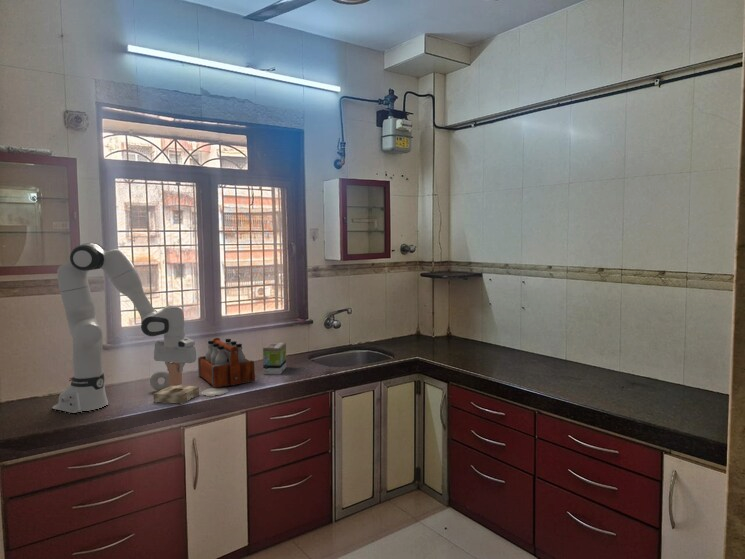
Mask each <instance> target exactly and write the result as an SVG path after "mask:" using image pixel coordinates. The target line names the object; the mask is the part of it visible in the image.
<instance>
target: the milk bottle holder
mask: <svg viewBox="0 0 745 559" xmlns="http://www.w3.org/2000/svg"><path fill="white" fill-rule="evenodd" d="M224 340H225V342H223V341H222V340H221V339H220V338H219V337H214V338H213V340H208V341H207V347H208V348H207V350H206V352H205V355H201V356H200V355H199V356H198V357H197V366H198V368H197V369H198V370H197V371H198V376H199V377H200V376H201V378H203V379H204V380H205V381H207V382H208V383H209V384H210V385H212V388H222V387H227V386H235V385H241V384H246V383H252V382H255V380H256V373H255V361H254V360H249V359H247V358H246V356H245V354H244V351H243V344H242V343H238V342H237V341H235V340H234V341H231V340H232V338H225V339H224Z"/></svg>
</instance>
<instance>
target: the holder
mask: <svg viewBox="0 0 745 559" xmlns="http://www.w3.org/2000/svg"><path fill="white" fill-rule="evenodd" d="M197 395H198V396H200V386H196V385H195V386H193V385H183V384H180V385H178V386H169V387H167V388H165V389H163V390H160V391H155V392H154V393H153V395H152V396H153V403H157V402H166V403H165V404H169V403H180V404H179V405H182V404H181V403H183V404H184V402H185V403H187V402H188V400H189V401H191V400H192V399H191V398H193V397H195V396H196V397H198V396H197ZM196 397H195V398H196ZM190 399H191V400H190ZM193 399H194V398H193ZM186 401H187V402H186Z"/></svg>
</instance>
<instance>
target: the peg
mask: <svg viewBox="0 0 745 559" xmlns="http://www.w3.org/2000/svg"><path fill="white" fill-rule="evenodd" d="M180 366H181V365H180V363H179V362H170V363H169V364H168V368H169V371H168V373H169V385H170V386H178V385H183V371H182V372H178V368H180Z"/></svg>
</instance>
